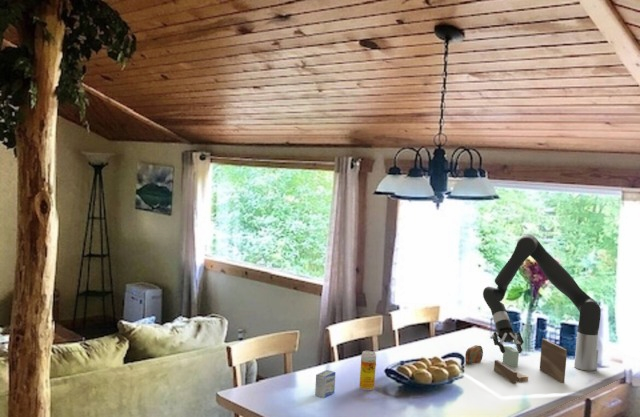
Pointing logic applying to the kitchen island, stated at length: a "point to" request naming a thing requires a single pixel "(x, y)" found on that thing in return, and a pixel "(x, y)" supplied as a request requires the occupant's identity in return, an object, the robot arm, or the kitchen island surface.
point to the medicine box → (325, 383)
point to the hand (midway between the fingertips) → (512, 352)
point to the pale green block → (510, 356)
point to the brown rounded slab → (474, 355)
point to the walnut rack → (541, 363)
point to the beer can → (367, 370)
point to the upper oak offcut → (521, 377)
